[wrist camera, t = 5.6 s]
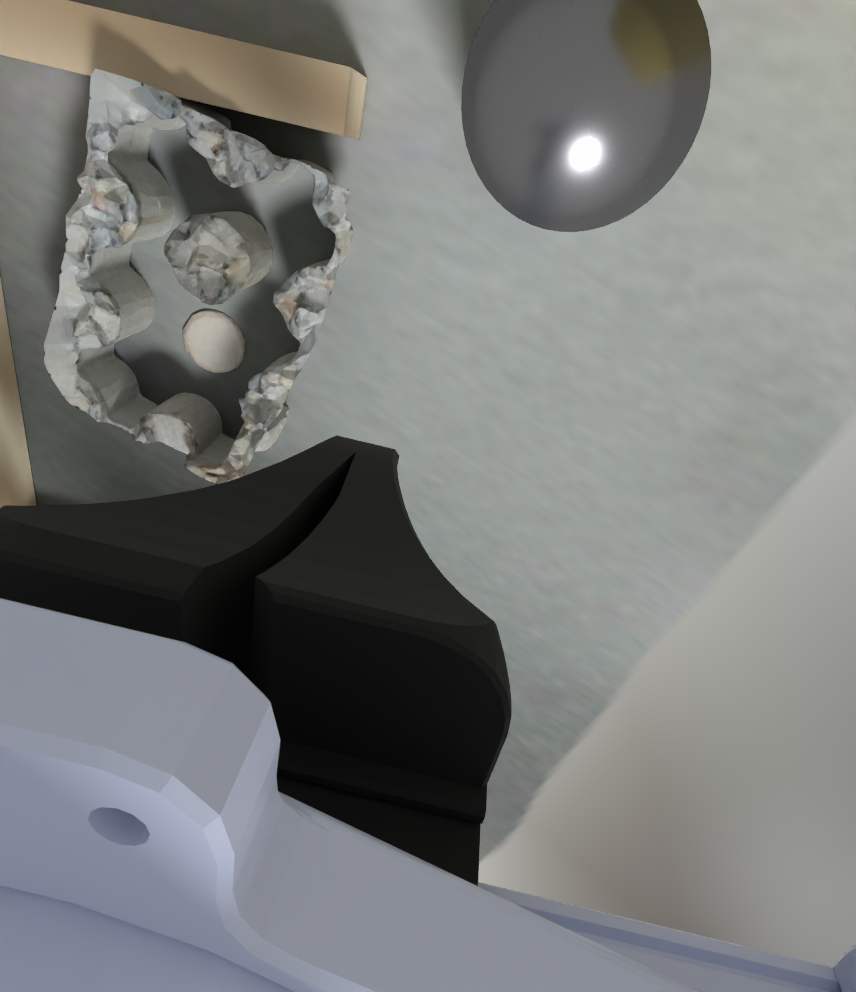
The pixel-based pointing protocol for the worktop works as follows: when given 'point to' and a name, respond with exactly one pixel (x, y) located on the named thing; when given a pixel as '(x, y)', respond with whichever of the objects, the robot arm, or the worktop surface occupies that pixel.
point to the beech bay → (183, 73)
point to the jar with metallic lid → (583, 104)
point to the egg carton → (178, 276)
